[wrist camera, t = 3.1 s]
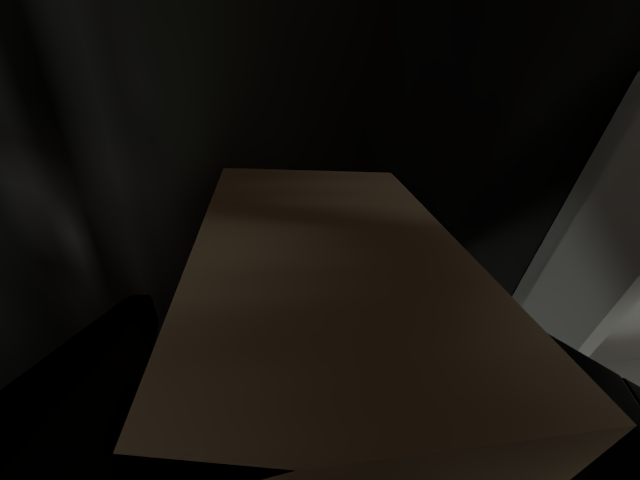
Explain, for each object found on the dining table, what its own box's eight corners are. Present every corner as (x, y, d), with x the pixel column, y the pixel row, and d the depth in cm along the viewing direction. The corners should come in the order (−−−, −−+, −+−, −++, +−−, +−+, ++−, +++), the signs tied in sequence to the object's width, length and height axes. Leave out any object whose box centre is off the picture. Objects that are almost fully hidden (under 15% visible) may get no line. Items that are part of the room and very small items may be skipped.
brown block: (240, 342, 10) (201, 727, 4) (223, 167, 7) (-11, 763, 1) (356, 335, 11) (455, 663, 5) (390, 172, 7) (773, 567, 2)
